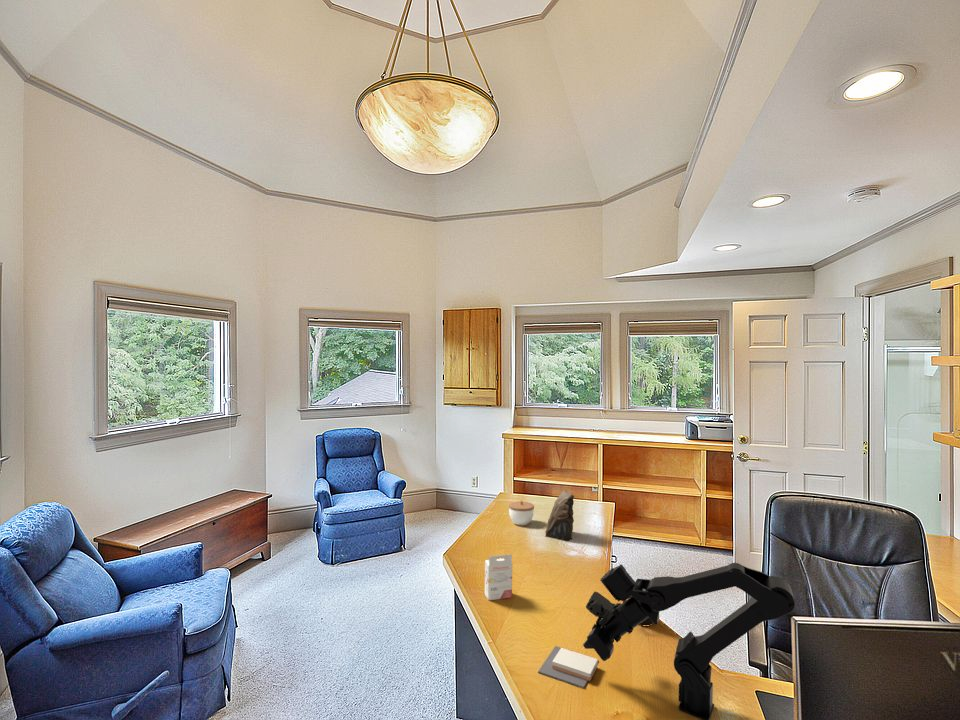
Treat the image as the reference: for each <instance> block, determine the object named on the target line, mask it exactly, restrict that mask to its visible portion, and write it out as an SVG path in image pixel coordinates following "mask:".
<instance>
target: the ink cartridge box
mask: <svg viewBox="0 0 960 720" xmlns="http://www.w3.org/2000/svg"><path fill="white" fill-rule="evenodd" d="M512 558H513V556H512V554H509V553H508V554H499V555H490V556H489V557H488V559H486V560H484V595H485V597H486V599H487V600H488V601H494V600H503V599H511V598H513V563H512V562H513V560H512Z"/></svg>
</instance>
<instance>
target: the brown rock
mask: <svg viewBox="0 0 960 720" xmlns="http://www.w3.org/2000/svg"><path fill="white" fill-rule="evenodd" d="M561 491H562V492H561V493H560V494H559V496H558V497H557V499H556V500H555V501H554V504H553V507H552V510H551V512H550V515H549V517H548V521H547V524H546V529H545V533H544V534H545V535H544V537H546V538H550V539H555V540H559V541H563V542H570V541H571V540H573V537H572V535H573V531H574V510H573V507H574V506H573V505H574V498H575V496H574V495H573V494H572V493H569V492H567V490H565V489H563V490H561Z"/></svg>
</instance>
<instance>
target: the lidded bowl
mask: <svg viewBox="0 0 960 720" xmlns="http://www.w3.org/2000/svg"><path fill="white" fill-rule="evenodd" d="M534 511H535V504H533V503H531V502H528V501H523V500H520V501H512V502H510V503H508V514H509V517H510V520H511V521H512V523H513V524H514V525H517V526H527V525H529V523H531V521H532V520H533V518H534V514H535V513H534Z"/></svg>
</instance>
